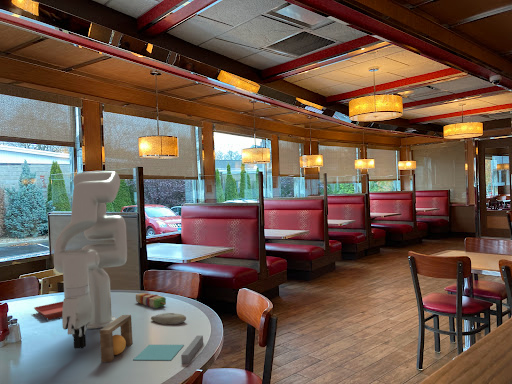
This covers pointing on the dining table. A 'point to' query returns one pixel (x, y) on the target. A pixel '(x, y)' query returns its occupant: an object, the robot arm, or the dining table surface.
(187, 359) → the stopper rail
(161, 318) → the decorative stone
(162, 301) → the skewer
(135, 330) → the dining table surface
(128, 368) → the dining table surface
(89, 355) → the dining table surface
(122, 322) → the bridge
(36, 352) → the dining table surface
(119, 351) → the ball
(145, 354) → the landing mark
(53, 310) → the plant saucer
